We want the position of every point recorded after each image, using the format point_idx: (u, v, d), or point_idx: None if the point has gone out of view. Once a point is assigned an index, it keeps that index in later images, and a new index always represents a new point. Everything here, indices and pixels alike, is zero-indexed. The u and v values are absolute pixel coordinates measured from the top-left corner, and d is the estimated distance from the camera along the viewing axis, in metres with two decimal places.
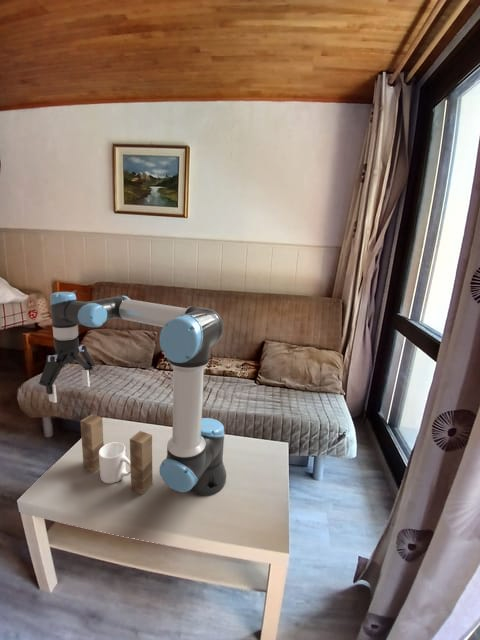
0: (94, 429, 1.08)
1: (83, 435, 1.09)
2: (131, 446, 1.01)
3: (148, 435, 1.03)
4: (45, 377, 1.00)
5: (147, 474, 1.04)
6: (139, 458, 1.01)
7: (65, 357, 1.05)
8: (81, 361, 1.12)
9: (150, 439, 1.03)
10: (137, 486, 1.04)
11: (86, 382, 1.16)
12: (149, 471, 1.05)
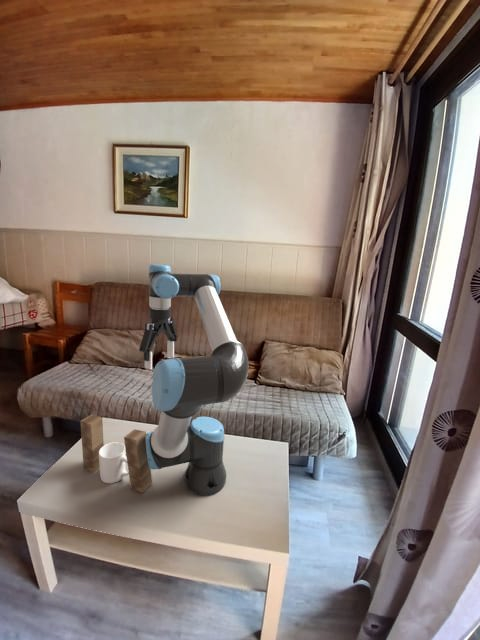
0: (94, 429, 1.08)
1: (83, 435, 1.09)
2: (126, 444, 1.02)
3: (142, 432, 1.04)
4: (145, 344, 1.05)
5: (145, 472, 1.04)
6: (134, 456, 1.01)
7: (159, 326, 1.10)
8: (169, 332, 1.17)
9: (144, 435, 1.03)
10: (136, 485, 1.04)
11: (171, 353, 1.21)
12: (147, 469, 1.05)
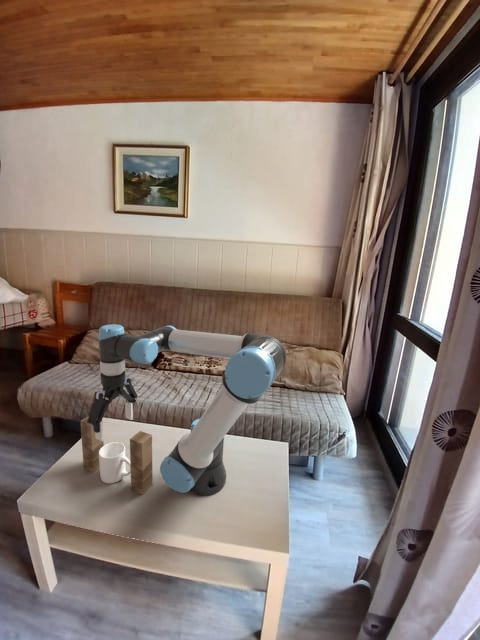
0: None
1: (83, 435, 1.09)
2: (131, 446, 1.01)
3: (148, 435, 1.03)
4: (94, 415, 0.95)
5: (147, 474, 1.04)
6: (139, 458, 1.01)
7: (112, 392, 1.00)
8: (126, 394, 1.07)
9: (150, 439, 1.03)
10: (137, 486, 1.04)
11: (130, 415, 1.11)
12: (149, 471, 1.05)
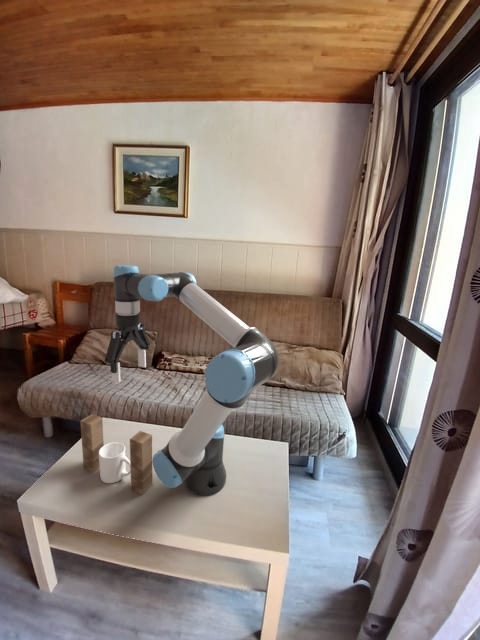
0: (94, 429, 1.08)
1: (83, 435, 1.09)
2: (131, 446, 1.01)
3: (148, 435, 1.03)
4: (111, 354, 0.94)
5: (147, 474, 1.04)
6: (139, 458, 1.01)
7: (128, 333, 0.99)
8: (140, 339, 1.06)
9: (150, 439, 1.03)
10: (137, 486, 1.04)
11: (143, 363, 1.11)
12: (149, 471, 1.05)
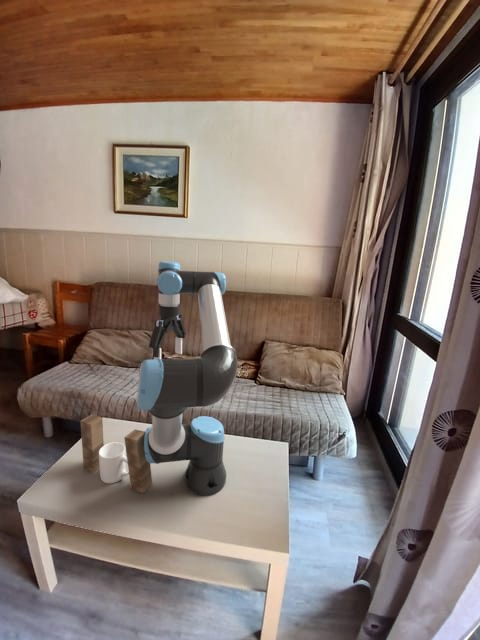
0: (94, 429, 1.08)
1: (83, 435, 1.09)
2: (126, 444, 1.02)
3: (142, 432, 1.04)
4: (155, 340, 1.06)
5: (145, 472, 1.04)
6: (135, 456, 1.01)
7: (168, 323, 1.11)
8: (178, 329, 1.18)
9: None
10: (136, 485, 1.04)
11: (179, 350, 1.23)
12: (147, 469, 1.05)
